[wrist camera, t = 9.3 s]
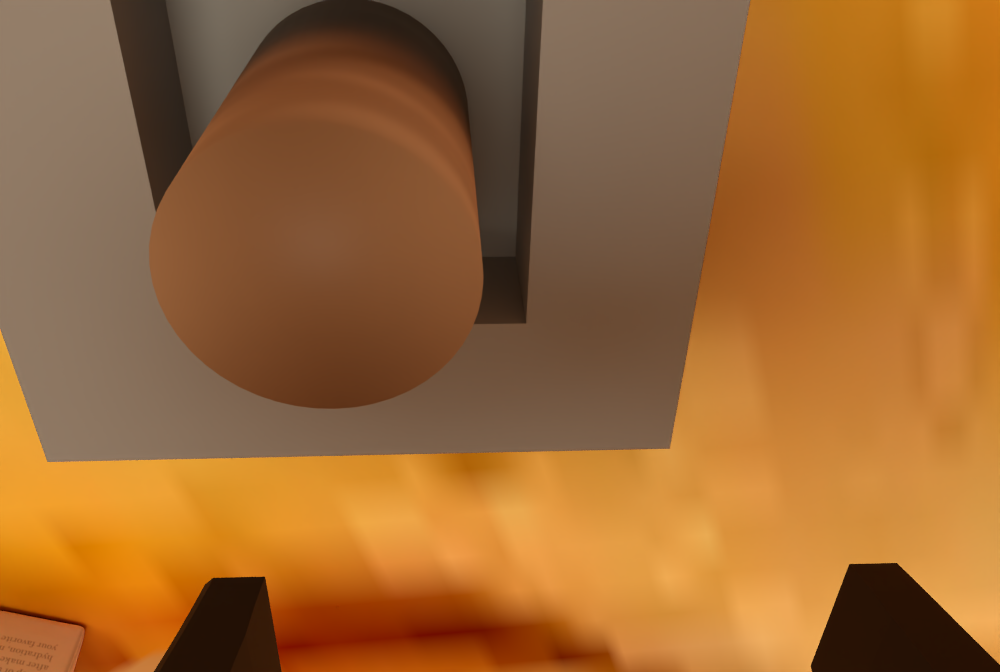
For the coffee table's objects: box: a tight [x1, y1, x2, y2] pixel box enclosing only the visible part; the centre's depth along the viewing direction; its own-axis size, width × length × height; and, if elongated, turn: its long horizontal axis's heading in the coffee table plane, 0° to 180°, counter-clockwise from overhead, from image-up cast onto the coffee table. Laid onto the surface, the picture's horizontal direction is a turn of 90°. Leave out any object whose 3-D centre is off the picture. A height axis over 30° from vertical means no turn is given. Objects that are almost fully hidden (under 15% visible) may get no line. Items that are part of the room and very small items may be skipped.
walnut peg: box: [149, 0, 483, 409], centre depth 13 cm, size 4×4×6 cm
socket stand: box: [0, 0, 750, 462], centre depth 15 cm, size 12×12×4 cm
